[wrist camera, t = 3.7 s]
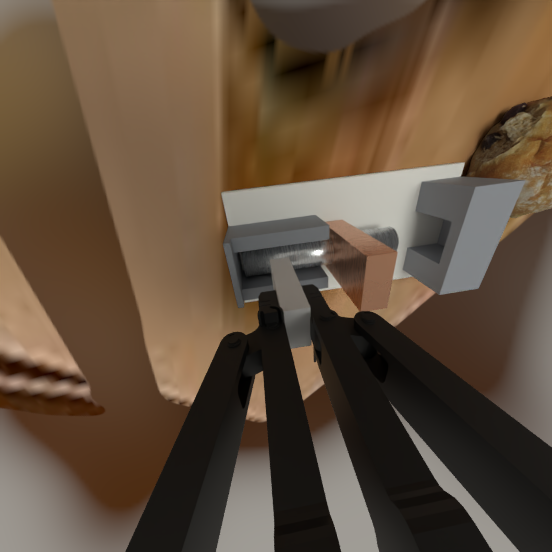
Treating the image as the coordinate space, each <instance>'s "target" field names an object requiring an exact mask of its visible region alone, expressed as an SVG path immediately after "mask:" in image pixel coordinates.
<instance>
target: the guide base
mask: <svg viewBox="0 0 552 552" xmlns="http://www.w3.org/2000/svg"><path fill="white" fill-rule="evenodd" d="M464 164H465V163H449V164H441V165H433V166H425V167H417V168H409V169H401V170H393V171H385V172H377V173H369V174H361V175H353V176H345V177H337V178H329V179H321V180H313V181H305V182H297V183H289V184H281V185H273V186H265V187H257V188H249V189H241V190H233V191H225V192H222V193H221V194H222V199H223V203H224V208H225V213H226V217H227V222H228V230H227V233H226V236H225V239H224V242H223V246H224V251H225V255H226V259H227V263H228V267H229V271H230V276H231V280H232V284H233V288H234V292H235V296H236V301H237V305H238V308H242V307H244V301H245V302H252V301H258V297H259V295H260V293H261V292H266V291H272V290H274V289H273V282H272V274H271V273H267V274H260V275H253V276H247V277H246V275H245V271H244V267H243V261H242V252H244V251H251V250H258V249H265V248H272V247H279V246H286V245H293V244H300V243H307V242H315V241H322V240H329V225H328V224H327V223H326V222H328V221H335V220H344V221H346V222H347V223H349V224H351V225H352V226H354V227H356V228H357V229H359V230H367V229H374V228H381V227H389V226H390V227H393V228H394V229H395V230H396V232H397V234H398V238H399V245H398V249H397V252H398V254H397V259H396V264H395V269H394V274H393V279H392V280H394V279H401V278H407V277H414V278H416V279H417V280H418V281H420V282H421V283H423V284H424V285H426V286H427V287H429V288H430V289H432V290H433V291H435V292H436V293H438V294H439V295H441V294H447V293H453V292H460V291H466V290H472V289H478V288H479V286H480V284H481V281H482V279H483V277H484V274H485V272H486V270H487V268H488V265H489V263H490V261H491V258H492V256H493V254H494V252H495V249H496V247H497V245H498V243H499V240H500V238H501V236H502V233H503V231H504V229H505V227H506V224H507V222H508V220H509V217H510V215H511V213H512V211H513V208H514V206H515V204H516V201H517V199H518V197H519V195H520V192H521V190H522V188H523V185H524V183H525V181H526V180H513V179H495V178H478V177H461V174H462V171H463V167H464ZM294 271H295V273H296V275H297V278H298V280H299V282H300V284H301V286H302V285H309V284H313V285H315V286H316V287H318V289H319V291H323V290H329V289H336V288H342V287H341V286H340V285H339V283H338V282H337V281H336V279H335V278H334V277H333V275H332V274H331V273H330V271H329V270H328V269H327V267H326V266H325V265H321V266H314V267H307V268H301V269H294Z"/></svg>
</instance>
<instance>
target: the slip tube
mask: <svg viewBox="0 0 552 552" xmlns="http://www.w3.org/2000/svg"><path fill="white" fill-rule="evenodd" d="M326 223H327V224H328V225H329V240H322V241H315V242H307V243H300V244H293V245H286V246H279V247H272V248H265V249H258V250H251V251H244V252H242V261H243V267H244V271H245V275H246V277H247V276H253V275H260V274H267V273H271V266H270V260H271V259H278V258H285V257H289V259H290V262H291V264H292V266H293V268H294V269H301V268H307V267H314V266H321V265H325V266H326V267H327V269H328V270H329V271H330V273H331V274H332V275H333V277H334V278H335V279H336V281H337V282H338V283H339V285H340V286H341V287H342V288H343V290H344V291H345V292H346V294H347V295H348V296H349V298H350V299H351V300H352V302H353V303H354V304H355V306H356V307H357V308H358V310H359V311H360V312H361V311H371V310H377V309H383V308H387V305H388V300H389V295H390V290H391V285H392V279H393V274H394V269H395V264H396V259H397V254H398V252H397V249H398V245H399V238H398V234H397V232H396V230H395V229H394V228H393V227H390V226H389V227H381V228H374V229H367V230H359V229H357V228H356V227H354V226H352V225H351V224H349V223H347V222H346V221H344V220H335V221H328V222H326Z"/></svg>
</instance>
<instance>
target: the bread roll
mask: <svg viewBox="0 0 552 552" xmlns="http://www.w3.org/2000/svg"><path fill="white" fill-rule="evenodd" d="M466 177H478V178H495V179H513V180H526V181H525V183H524V185H523V188H522V190H521V192H520V195H519V197H518V199H517V201H516V204H515V206H514V208H513V211H512V213H511V215H510V217H511V218H517V217H520V216H522V215H526V214H529V213H535V212H540V211H543V210H547V209H550V208H552V96H551V97H550V98H549V97H548V98H543V99H540V100H536V101H531V102H528V103H527V104H526V103H522V104H519V105H516V106H514V107H512V108H511V109H510V110H509V111H507V112H506V113H505V115H504V117H503V118H502V119H501V122H499V123H498V124H496V125H494V126H493V127H492V128H491V129H490V131H489V132H488V134H487V135H486V136H485V138H484V139H483V140H482V141H481V143H480V146H479V147H478V149H477V150H476V152H475V153H474V155H473V157H472V160H471V163H470V167H469V169H468V172H467V174H466Z"/></svg>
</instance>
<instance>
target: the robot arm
mask: <svg viewBox="0 0 552 552" xmlns="http://www.w3.org/2000/svg"><path fill="white" fill-rule="evenodd" d="M270 266H271V274H272V282H273V289H274V290H272V291H266V292H261V293H260V295H259V297H258V300H259V311H258V320H259V327H258V328H257V329H256V330H255V331H254V332H252V333H250V334H248V335H245V334H244V333H242V332H233V333H230V334H228V335H226V336H225V337H224V338H223V339H222V341H221V342H220V345H219V347H218V349H217V351H216V353H215V356H214V358H213V360H212V362H211V364H210V367H209V369H208V371H207V373H206V375H205V378H204V380H203V382H202V384H201V387H200V389H199V391H198V393H197V395H196V398H195V400H194V402H193V404H192V406H191V409H190V411H189V413H188V415H187V418H186V420H185V422H184V424H183V426H182V429H181V431H180V433H179V435H178V437H177V439H176V442H175V444H174V446H173V448H172V450H171V453H170V455H169V457H168V459H167V461H166V464H165V466H164V468H163V471H162V472H161V475H160V477H159V479H158V481H157V483H156V486H155V488H154V490H153V492H152V495H151V497H150V499H149V501H148V503H147V505H146V508H145V510H144V512H143V514H142V516H141V519H140V521H139V523H138V525H137V528H136V530H135V532H134V534H133V536H132V539H131V541H130V543H129V545H128V547H127V549H126V552H216V548H217V543H218V539H219V535H220V530H221V526H222V521H223V517H224V512H225V508H226V503H227V499H228V495H229V490H230V486H231V481H232V477H233V472H234V468H235V464H236V459H237V455H238V450H239V446H240V441H241V437H242V432H243V428H244V424H245V419H246V415H247V410H248V406H249V401H250V397H251V393H252V388H253V384H254V379H255V374H257V373H259V372H261V371H263V377H264V390H265V404H266V417H267V430H268V443H269V456H270V469H271V483H272V497H273V510H274V550H275V552H341V549H340V545H339V541H338V538H337V534H336V530H335V527H334V524H333V521H332V518H331V516H330V512H329V509H328V505H327V501H326V497H325V493H324V488H323V484H322V480H321V476H320V471H319V467H318V463H317V458H316V454H315V450H314V446H313V442H312V437H311V433H310V429H309V424H308V420H307V416H306V412H305V407H304V403H303V399H302V395H301V390H300V386H299V382H298V378H297V373H296V369H295V365H294V360H293V356H292V352H291V349H292V348H298V347H304V346H310V345H311V340H312V342H313V345H314V362H316V360H317V363H318V366H319V369H320V372H321V375H322V378H323V381H324V383H325V386H326V389H327V392H328V395H329V398H330V401H331V404H332V407H333V409H334V412H335V415H336V418H337V421H338V424H339V427H340V430H341V433H342V436H343V438H344V441H345V444H346V447H347V450H348V453H349V456H350V459H351V461H352V464H353V467H354V470H355V473H356V476H357V479H358V482H359V485H360V488H361V490H362V493H363V496H364V499H365V502H366V505H367V508H368V511H369V513H370V517H371V519H372V522H373V526H374V529H375V533H376V538H377V544H378V548H379V552H493V551H492V550H491V548H490V547H489V545H488V544H487V542H486V540H485V539H484V537H483V536H482V534H481V532H480V531H479V529H478V528H477V526H476V525H475V523H474V521H473V520H472V518H471V517H470V516H469V514H468V513H467V511H466V510H465V509H464V507H463V506H462V505H461V504H460V503H459V502H458V501H457V500H456V499H455V498H454V497H453V496H451V495H450V494H448V493H447V492H445V491H444V490H443V489H442V488H441V487H440V486H439V484H438V483H437V481H436V480H435V478H434V476H433V475H432V473H431V471H430V470H429V468H428V466H427V465H426V463H425V461H424V460H423V458H422V456H421V454H420V453H419V451H418V450H417V448H416V446H415V444H414V443H413V441H412V439H411V438H410V436H409V434H408V433H407V431H406V429H405V428H404V426H403V424H402V422H401V421H400V419H399V417H398V416H397V414H396V412H395V411H394V409H393V407H392V405H393V406H394V407H395V408H396V409H397V411H398V412H399V413H400V414H401V415H402V416H403V417H404V419H405V420H406V421H407V422H408V423H409V424H410V426H411V427H412V428H413V429H414V430H415V431H416V432H417V434H418V435H419V436H420V437H421V438H422V439H423V441H424V442H425V443H426V444H427V445H428V446H429V447H430V449H431V450H432V451H433V452H434V453H435V454H436V456H437V457H438V458H439V459H440V460H441V461H442V462H443V464H444V465H445V466H446V467H447V468H448V469H449V471H450V472H451V473H452V474H453V475H454V476H455V478H457V480H458V481H459V482H460V483H461V484H462V486H463V487H464V488H465V489H466V490H467V491H468V492H469V494H470V495H471V496H472V497H473V498H474V499H475V501H476V502H477V503H478V504H479V505H480V506H481V507H482V509H483V510H484V511H485V512H486V513H487V514H488V516H489V517H490V518H491V519H492V520H493V521H494V522H495V524H496V525H497V526H498V527H499V528H500V529H501V530H502V532H503V533H504V534H505V535H506V536H507V538H508V539H509V540H510V541H511V542H512V543H513V544H514V546H515V547H516V548H517V549H518V550H519V551H520V552H552V447H550V446H549V445H548V444H546V443H545V442H544V441H542V440H541V439H540V438H539V437H537V436H536V435H535V434H533V433H532V432H531V431H529V430H528V429H527V428H525V427H524V426H523V425H522V424H520V423H519V422H518V421H516V420H515V419H514V418H512V417H511V416H510V415H508V414H507V413H506V412H505V411H503V410H502V409H500V408H499V407H498V406H497V405H495V404H494V403H493V402H491V401H490V400H489V399H488V398H486V397H485V396H484V395H482V394H481V393H479V392H478V391H477V390H476V389H474V388H473V387H472V386H471V385H469V384H468V383H467V382H465V381H464V380H463V379H461V378H460V377H459V376H457V375H456V374H455V373H454V372H452V371H451V370H450V369H448V368H447V367H446V366H444V365H443V364H442V363H440V362H439V361H438V360H436V359H435V358H434V357H433V356H431V355H430V354H429V353H427V352H426V351H425V350H423V349H422V348H421V347H419V346H418V345H417V344H416V343H414V342H413V341H412V340H410V339H409V338H408V337H406V336H405V335H404V334H403V333H401V332H400V331H399V330H397V329H396V328H395V327H393V326H392V325H391V324H389V323H388V322H387V321H386V320H384V319H383V318H382V317H380V316H379V315H377V314H376V313H373V312H370V311H361V312H358V313H356V315H355V316H354V318H346V317H340V316H338V314H337V313H336V312H335V311H333V310H330V308H329V307H328V305H327V303H326V301H325V300H324V298H323V297H322V294H321V293H320V291H319V289H318V287H316V286H315V285H313V284H309V285H302V286H301V284H300V282H299V280H298V278H297V275H296V273H295V271H294V268H293V266H292V264H291V262H290V259H289V257H285V258H278V259H271V260H270ZM389 401H390V402H391V404H392V405H391V404H390V402H389Z"/></svg>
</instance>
